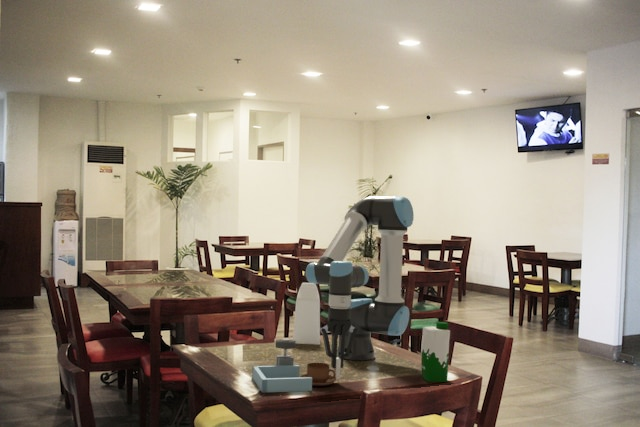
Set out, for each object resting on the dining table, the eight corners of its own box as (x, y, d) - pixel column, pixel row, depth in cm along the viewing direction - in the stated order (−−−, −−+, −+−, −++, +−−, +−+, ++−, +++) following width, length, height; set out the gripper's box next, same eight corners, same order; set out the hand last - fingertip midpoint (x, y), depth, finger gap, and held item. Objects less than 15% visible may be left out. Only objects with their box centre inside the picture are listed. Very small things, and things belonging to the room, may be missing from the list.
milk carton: (450, 382, 218) (452, 324, 218) (424, 382, 217) (426, 324, 217) (443, 376, 226) (445, 320, 226) (418, 376, 226) (420, 320, 226)
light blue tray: (293, 372, 224) (294, 355, 224) (311, 390, 200) (312, 371, 200) (248, 373, 219) (249, 355, 219) (262, 392, 196) (262, 373, 196)
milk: (292, 343, 275) (295, 283, 276) (293, 338, 287) (295, 281, 287) (320, 344, 275) (322, 284, 276) (319, 339, 287) (322, 282, 287)
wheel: (292, 353, 224) (293, 337, 224) (297, 358, 218) (297, 341, 218) (273, 354, 222) (273, 337, 223) (277, 358, 216) (278, 341, 216)
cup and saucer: (336, 380, 215) (336, 362, 215) (335, 389, 203) (335, 370, 203) (301, 378, 216) (301, 360, 216) (297, 387, 204) (298, 368, 204)
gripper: (324, 308, 206) (321, 381, 206) (361, 308, 210) (358, 379, 210) (317, 305, 214) (315, 375, 213) (354, 305, 217) (351, 374, 217)
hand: (336, 377), depth 212 cm, fingers closed
